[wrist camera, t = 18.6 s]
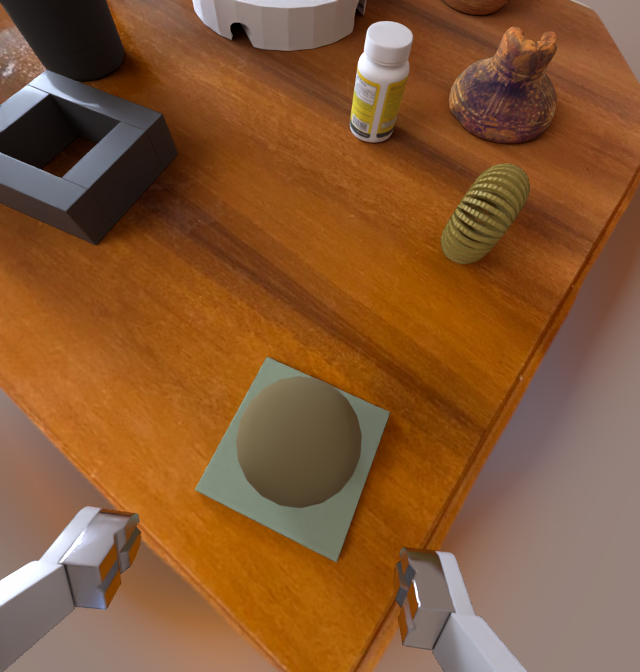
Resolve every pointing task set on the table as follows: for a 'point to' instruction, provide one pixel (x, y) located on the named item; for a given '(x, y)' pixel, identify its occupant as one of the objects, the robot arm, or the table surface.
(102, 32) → the pen holder
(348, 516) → the mat
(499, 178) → the sculpture
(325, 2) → the ashtray
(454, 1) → the pastry
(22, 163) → the holder stand
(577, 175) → the table surface
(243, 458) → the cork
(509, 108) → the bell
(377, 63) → the supplement bottle
